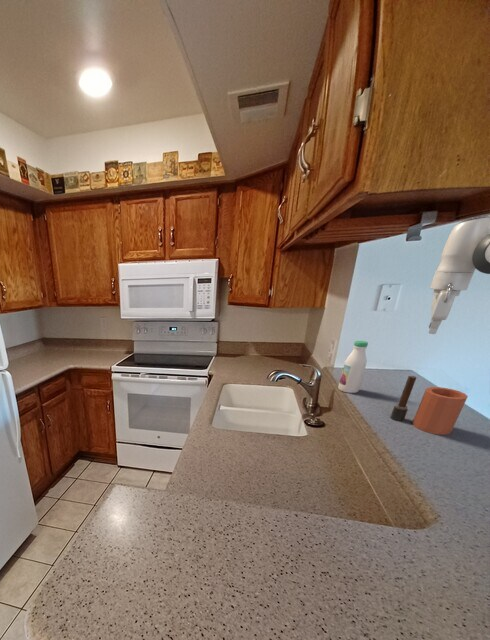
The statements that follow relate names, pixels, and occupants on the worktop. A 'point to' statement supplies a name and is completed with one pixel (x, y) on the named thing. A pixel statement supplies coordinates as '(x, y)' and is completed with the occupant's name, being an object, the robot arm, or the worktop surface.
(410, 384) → the brush
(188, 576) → the worktop surface
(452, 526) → the worktop surface
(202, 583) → the worktop surface
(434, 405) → the jar
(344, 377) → the milk bottle
